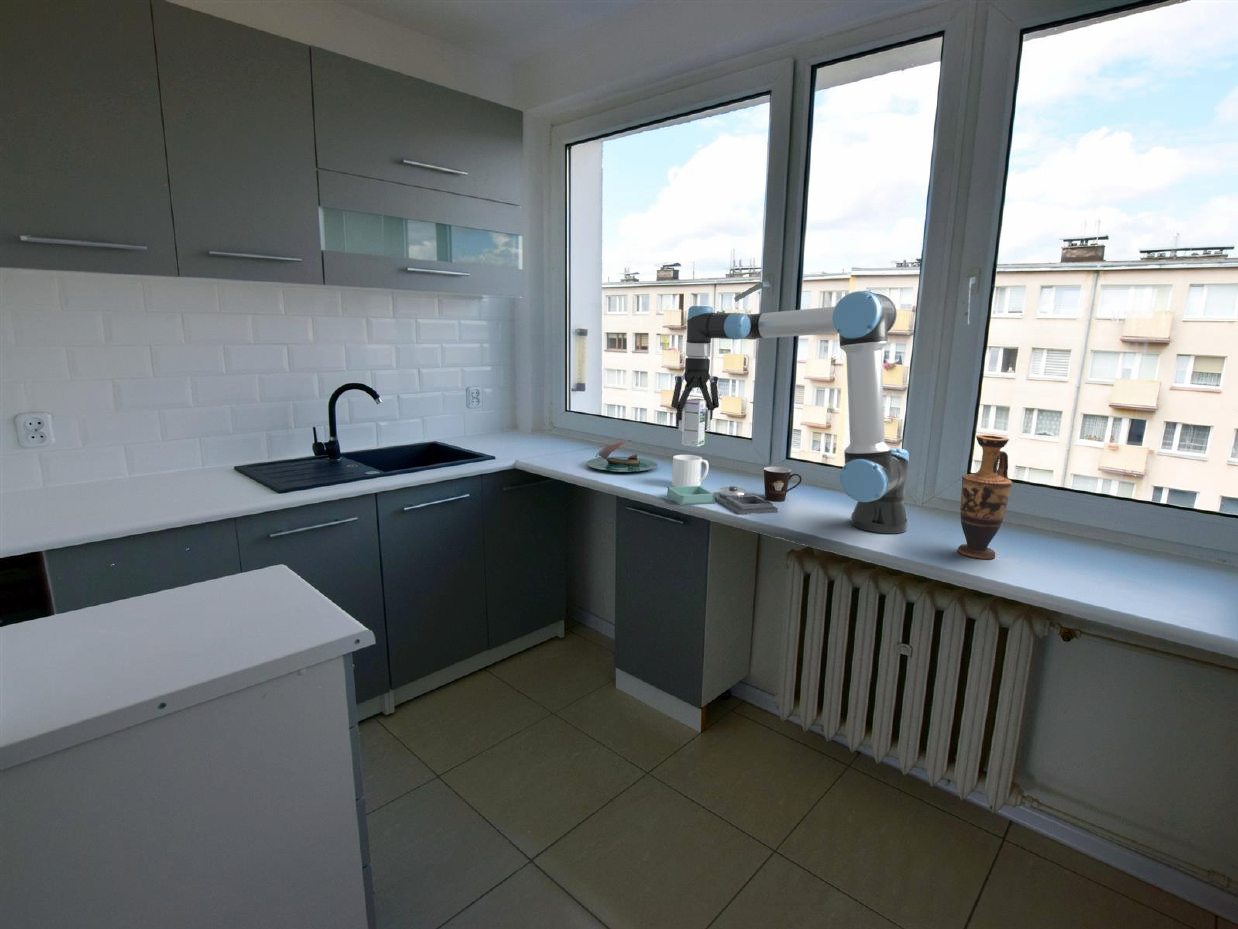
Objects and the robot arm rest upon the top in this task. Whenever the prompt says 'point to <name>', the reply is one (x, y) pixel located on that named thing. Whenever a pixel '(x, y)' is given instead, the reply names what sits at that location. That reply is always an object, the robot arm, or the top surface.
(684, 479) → the mug
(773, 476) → the coffee mug
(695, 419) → the syrup box
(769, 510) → the pulley plate
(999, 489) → the vase
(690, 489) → the tray
